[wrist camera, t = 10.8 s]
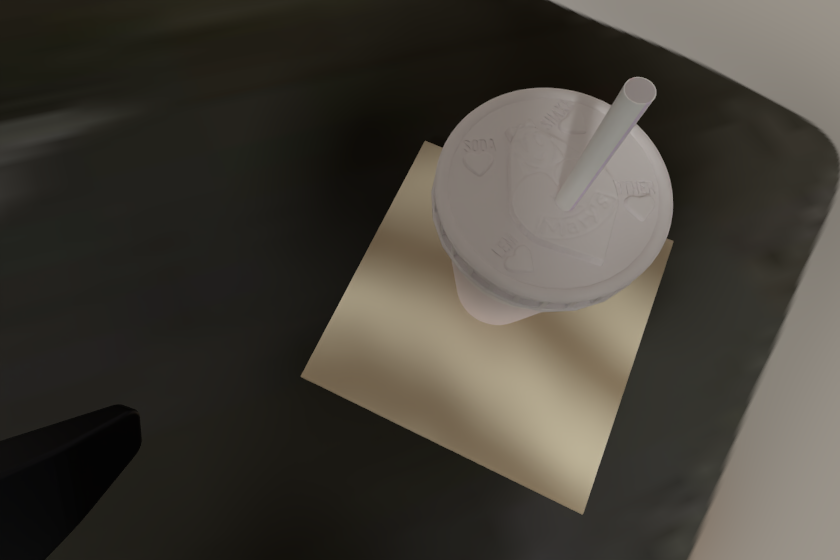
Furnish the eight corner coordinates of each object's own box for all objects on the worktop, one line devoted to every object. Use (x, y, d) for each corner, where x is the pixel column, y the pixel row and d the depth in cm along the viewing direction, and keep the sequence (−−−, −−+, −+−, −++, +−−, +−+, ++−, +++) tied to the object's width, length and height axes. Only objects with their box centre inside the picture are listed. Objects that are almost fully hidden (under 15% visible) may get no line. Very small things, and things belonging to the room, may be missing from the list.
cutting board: (573, 509, 20) (582, 514, 19) (306, 378, 21) (300, 376, 20) (660, 249, 23) (673, 241, 22) (424, 153, 25) (424, 140, 24)
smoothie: (465, 379, 20) (551, 305, 7) (404, 253, 22) (378, -5, 8) (592, 318, 21) (895, 144, 8) (524, 201, 23) (674, -113, 9)
